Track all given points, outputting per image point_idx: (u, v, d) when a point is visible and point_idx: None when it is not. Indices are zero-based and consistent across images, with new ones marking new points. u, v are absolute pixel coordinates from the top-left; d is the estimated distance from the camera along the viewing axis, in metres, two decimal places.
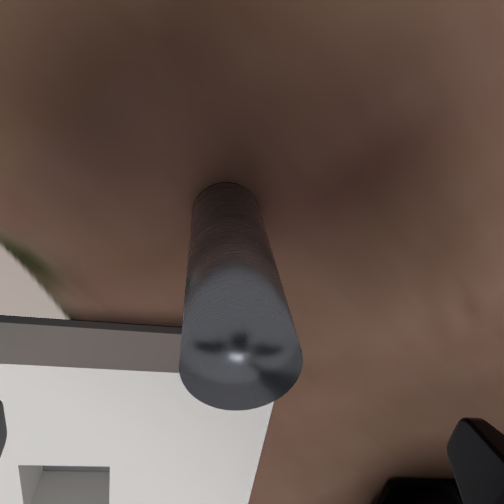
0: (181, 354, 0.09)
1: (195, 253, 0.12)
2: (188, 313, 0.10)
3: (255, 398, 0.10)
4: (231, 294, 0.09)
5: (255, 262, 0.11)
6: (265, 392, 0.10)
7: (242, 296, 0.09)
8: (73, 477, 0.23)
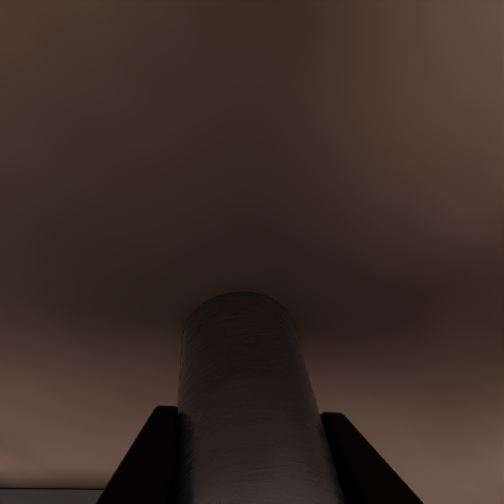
0: None
1: None
2: None
3: None
4: None
5: None
6: None
7: None
8: None
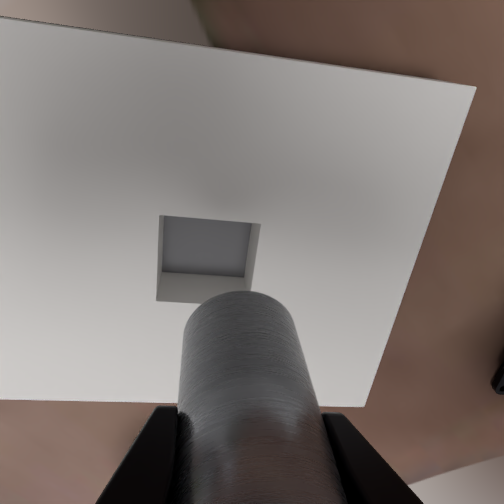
0: None
1: None
2: None
3: None
4: None
5: None
6: None
7: None
8: (196, 278, 0.20)
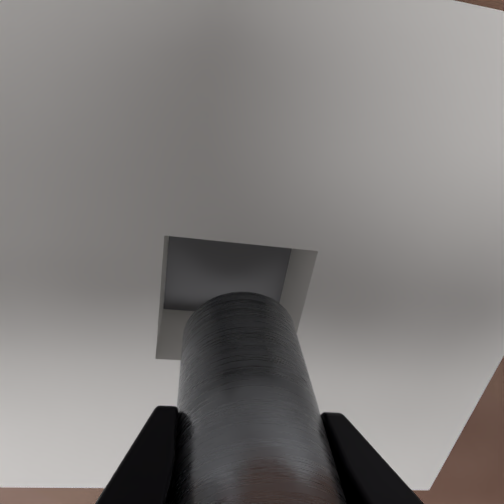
0: None
1: None
2: None
3: None
4: None
5: None
6: None
7: None
8: None
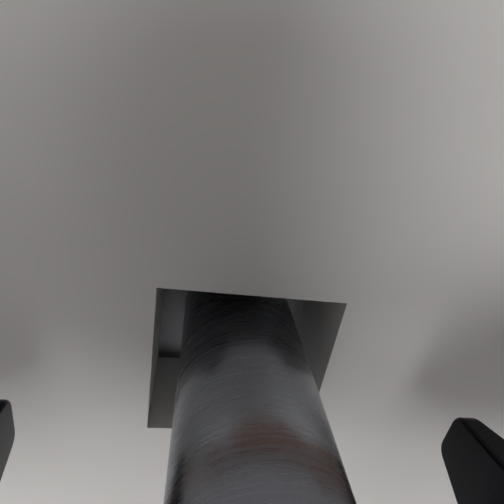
0: None
1: (184, 428, 0.06)
2: None
3: None
4: None
5: (309, 485, 0.05)
6: None
7: None
8: None
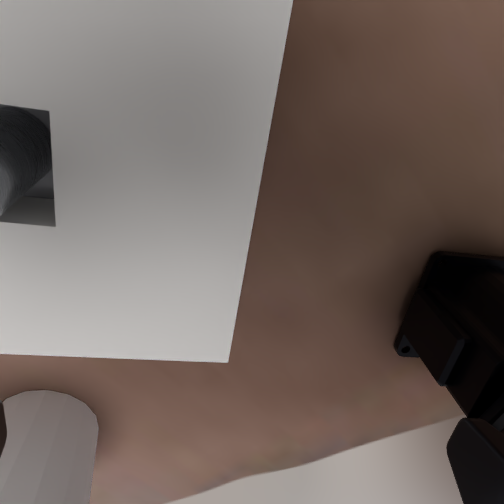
0: None
1: None
2: None
3: None
4: None
5: None
6: None
7: None
8: None
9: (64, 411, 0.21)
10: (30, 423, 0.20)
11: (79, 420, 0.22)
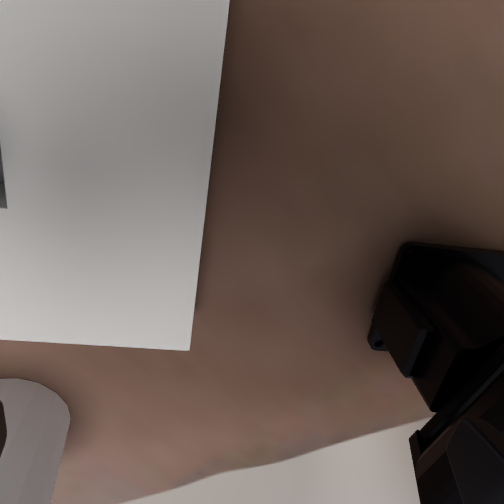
0: None
1: None
2: None
3: None
4: None
5: None
6: None
7: None
8: None
9: (32, 399, 0.21)
10: None
11: (48, 409, 0.22)
